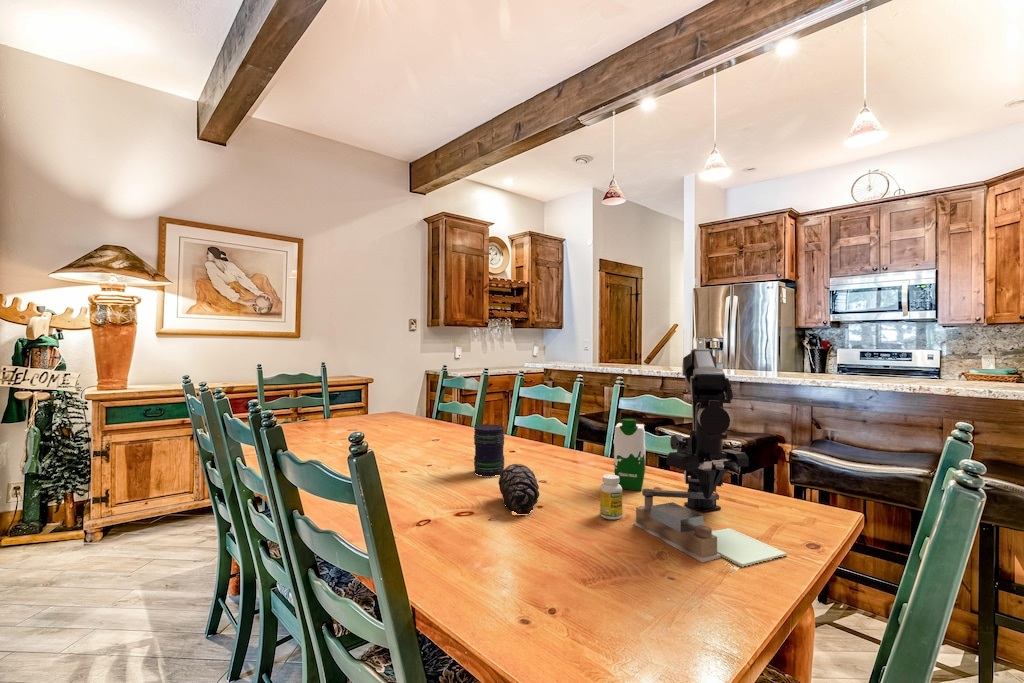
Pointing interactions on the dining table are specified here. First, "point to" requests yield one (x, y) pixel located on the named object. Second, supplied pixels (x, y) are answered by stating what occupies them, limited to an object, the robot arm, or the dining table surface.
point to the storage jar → (489, 450)
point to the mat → (743, 548)
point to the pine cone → (519, 488)
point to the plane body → (679, 535)
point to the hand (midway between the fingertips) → (706, 498)
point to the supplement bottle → (611, 497)
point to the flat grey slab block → (676, 516)
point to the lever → (677, 494)
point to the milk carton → (629, 454)
